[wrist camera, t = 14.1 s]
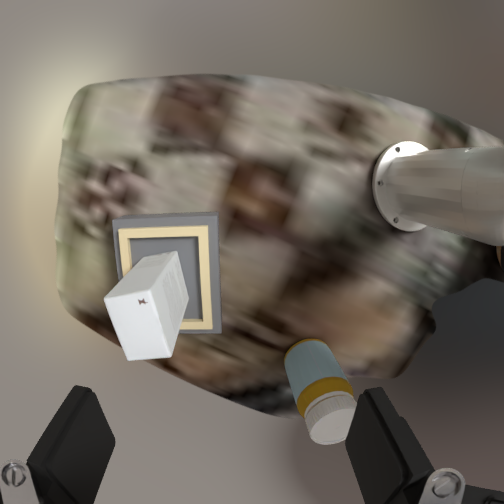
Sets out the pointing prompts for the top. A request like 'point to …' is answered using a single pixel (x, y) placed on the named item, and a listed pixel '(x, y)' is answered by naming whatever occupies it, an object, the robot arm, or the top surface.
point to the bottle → (320, 390)
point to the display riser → (190, 256)
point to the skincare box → (149, 307)
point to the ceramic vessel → (500, 256)
